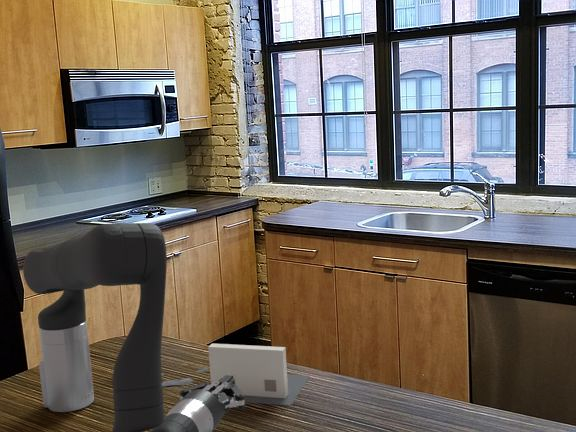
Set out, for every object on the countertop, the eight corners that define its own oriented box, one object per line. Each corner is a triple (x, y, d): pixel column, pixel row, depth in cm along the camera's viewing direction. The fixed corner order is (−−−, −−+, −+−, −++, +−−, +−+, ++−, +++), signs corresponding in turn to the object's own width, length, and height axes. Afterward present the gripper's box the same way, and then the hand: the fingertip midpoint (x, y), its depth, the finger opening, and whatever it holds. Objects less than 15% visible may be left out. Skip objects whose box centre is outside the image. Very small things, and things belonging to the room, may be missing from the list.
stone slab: (208, 364, 154) (207, 379, 145) (209, 372, 155) (208, 387, 145) (128, 374, 153) (122, 389, 143) (129, 382, 153) (123, 397, 143)
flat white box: (211, 393, 139) (208, 346, 138) (215, 388, 141) (212, 343, 140) (285, 398, 135) (282, 350, 133) (288, 393, 137) (285, 346, 135)
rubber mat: (197, 401, 137) (196, 398, 137) (224, 373, 151) (224, 370, 151) (290, 408, 131) (290, 405, 131) (310, 378, 146) (310, 375, 146)
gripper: (227, 402, 109) (261, 363, 125) (154, 396, 113) (196, 359, 129) (230, 445, 110) (264, 401, 126) (157, 438, 114) (199, 396, 130)
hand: (229, 380), depth 128 cm, fingers closed
